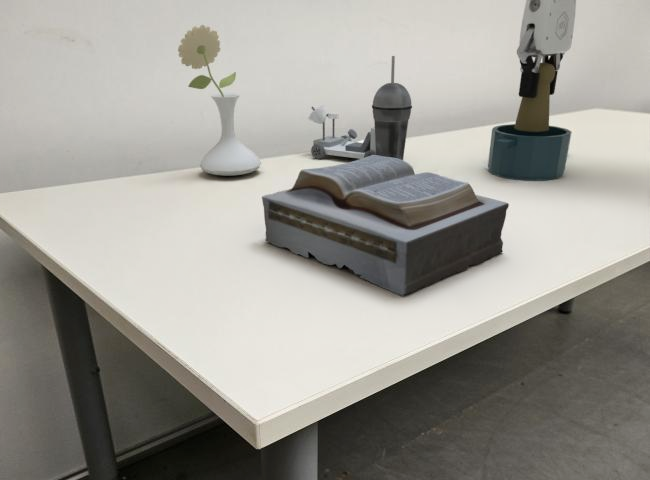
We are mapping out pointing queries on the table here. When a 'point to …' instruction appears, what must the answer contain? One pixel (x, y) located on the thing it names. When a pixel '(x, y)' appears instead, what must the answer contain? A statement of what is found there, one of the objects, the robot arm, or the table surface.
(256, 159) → the flower in vase
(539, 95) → the cork
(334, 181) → the bible
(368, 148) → the toy car
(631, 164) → the table surface
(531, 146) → the pot
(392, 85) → the beverage cup
